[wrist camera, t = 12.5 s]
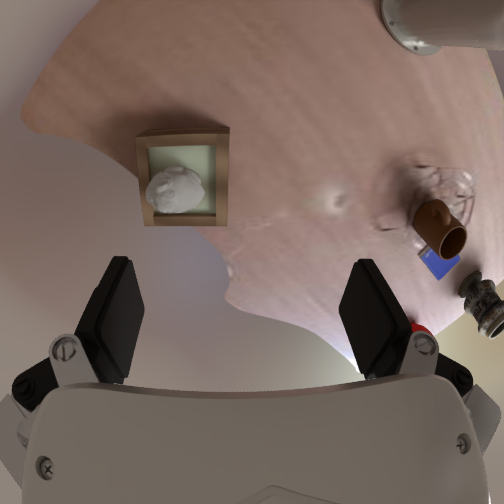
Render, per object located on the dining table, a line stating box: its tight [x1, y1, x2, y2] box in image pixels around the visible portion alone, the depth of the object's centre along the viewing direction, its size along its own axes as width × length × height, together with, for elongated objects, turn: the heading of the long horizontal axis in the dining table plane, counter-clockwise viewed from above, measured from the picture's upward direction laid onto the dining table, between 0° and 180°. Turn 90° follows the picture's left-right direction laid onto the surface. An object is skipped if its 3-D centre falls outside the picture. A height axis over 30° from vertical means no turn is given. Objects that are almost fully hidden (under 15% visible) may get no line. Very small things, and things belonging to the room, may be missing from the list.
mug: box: [414, 199, 467, 260], centre depth 40 cm, size 12×8×9 cm, turn 36°
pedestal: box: [135, 128, 230, 226], centre depth 36 cm, size 13×12×5 cm
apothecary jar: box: [458, 271, 504, 339], centre depth 51 cm, size 12×12×18 cm
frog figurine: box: [146, 165, 205, 213], centre depth 32 cm, size 6×7×7 cm
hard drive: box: [419, 246, 460, 280], centre depth 51 cm, size 2×8×12 cm
